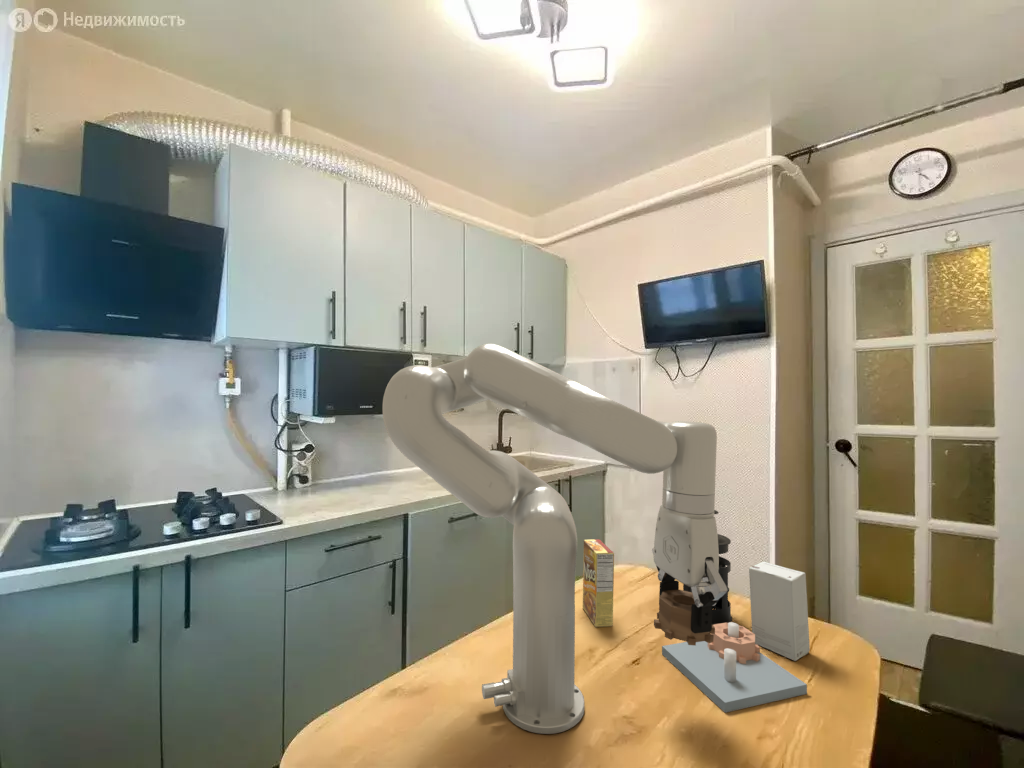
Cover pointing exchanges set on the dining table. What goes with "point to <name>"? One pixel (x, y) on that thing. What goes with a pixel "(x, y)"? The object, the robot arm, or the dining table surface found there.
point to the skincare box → (779, 609)
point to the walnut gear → (679, 617)
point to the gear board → (746, 675)
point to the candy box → (598, 582)
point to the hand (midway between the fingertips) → (684, 617)
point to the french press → (723, 605)
